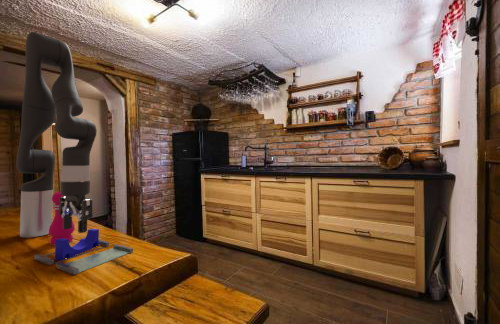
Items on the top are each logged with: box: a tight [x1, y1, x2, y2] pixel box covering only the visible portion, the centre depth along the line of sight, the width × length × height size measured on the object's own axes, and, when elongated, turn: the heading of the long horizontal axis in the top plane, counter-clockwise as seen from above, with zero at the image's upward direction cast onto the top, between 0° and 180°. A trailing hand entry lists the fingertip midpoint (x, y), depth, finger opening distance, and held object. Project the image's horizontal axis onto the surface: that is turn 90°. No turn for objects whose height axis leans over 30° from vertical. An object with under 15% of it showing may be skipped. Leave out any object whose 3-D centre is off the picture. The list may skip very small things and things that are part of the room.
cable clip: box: [54, 228, 100, 261], centre depth 73 cm, size 12×4×6 cm, turn 167°
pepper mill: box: [48, 187, 76, 246], centre depth 82 cm, size 7×7×20 cm
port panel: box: [34, 239, 134, 276], centre depth 70 cm, size 21×17×1 cm
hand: (74, 230), depth 73 cm, fingers open, 8 cm apart
